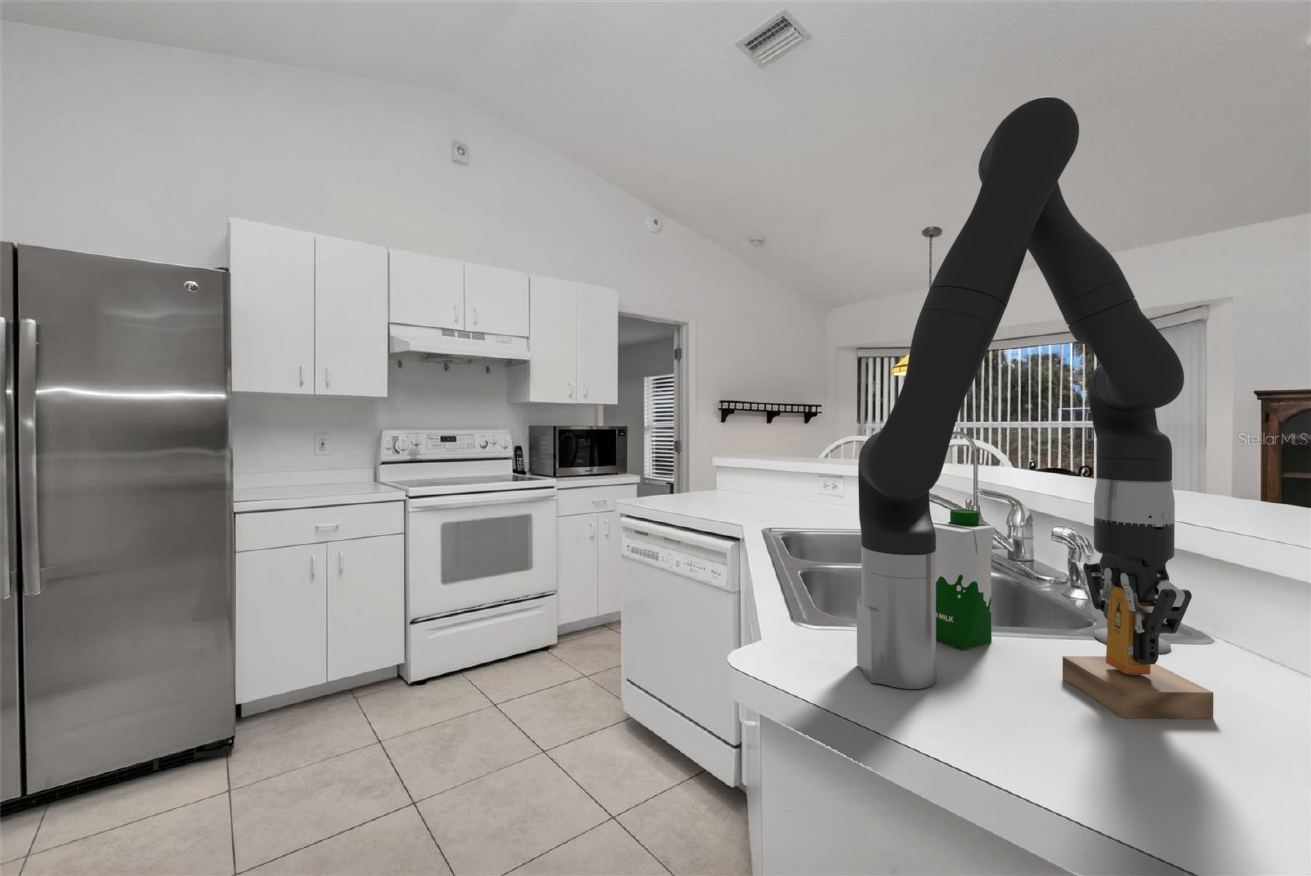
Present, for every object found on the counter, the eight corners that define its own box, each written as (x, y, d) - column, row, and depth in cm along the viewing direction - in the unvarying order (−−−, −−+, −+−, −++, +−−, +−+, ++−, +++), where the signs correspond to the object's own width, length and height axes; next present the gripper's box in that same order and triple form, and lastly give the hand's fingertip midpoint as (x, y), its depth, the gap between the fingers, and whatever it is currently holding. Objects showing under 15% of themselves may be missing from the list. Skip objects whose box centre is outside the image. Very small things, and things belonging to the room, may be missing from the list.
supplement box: (1154, 675, 67) (1156, 592, 67) (1125, 675, 67) (1126, 592, 67) (1132, 663, 71) (1133, 584, 70) (1104, 663, 71) (1105, 584, 71)
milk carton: (1001, 642, 87) (1001, 513, 86) (963, 654, 83) (963, 518, 82) (948, 625, 94) (948, 506, 94) (912, 634, 90) (912, 510, 90)
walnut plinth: (1122, 717, 64) (1122, 691, 64) (1062, 678, 74) (1062, 656, 74) (1213, 718, 64) (1213, 692, 64) (1140, 679, 74) (1140, 656, 74)
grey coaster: (1124, 653, 82) (1124, 650, 82) (1080, 631, 91) (1080, 628, 91) (1188, 653, 82) (1188, 650, 82) (1137, 631, 91) (1137, 628, 91)
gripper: (1061, 508, 76) (1061, 635, 76) (1149, 526, 62) (1148, 682, 62) (1118, 508, 76) (1118, 635, 76) (1220, 526, 61) (1218, 682, 62)
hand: (1131, 655), depth 69 cm, fingers closed on supplement box, 3 cm apart
